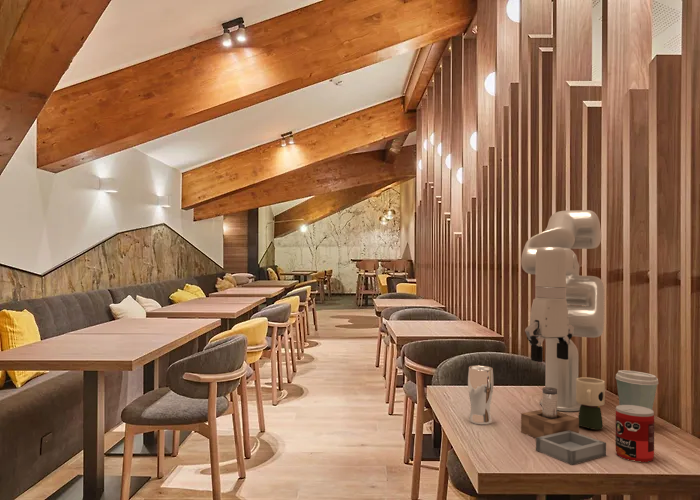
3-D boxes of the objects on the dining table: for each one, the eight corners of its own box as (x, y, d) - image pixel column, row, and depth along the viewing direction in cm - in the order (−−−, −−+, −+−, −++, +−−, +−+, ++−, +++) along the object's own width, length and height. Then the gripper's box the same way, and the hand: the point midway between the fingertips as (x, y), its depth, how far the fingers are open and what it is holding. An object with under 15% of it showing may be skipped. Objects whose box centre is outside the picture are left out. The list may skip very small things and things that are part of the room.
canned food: (608, 450, 125) (608, 404, 126) (640, 450, 126) (640, 404, 126) (628, 463, 118) (628, 414, 118) (661, 462, 118) (661, 413, 119)
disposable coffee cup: (622, 417, 152) (622, 366, 152) (664, 426, 144) (664, 372, 145) (609, 425, 145) (609, 371, 145) (652, 435, 137) (652, 377, 137)
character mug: (603, 436, 136) (603, 385, 136) (573, 431, 140) (573, 382, 140) (606, 424, 146) (606, 377, 146) (578, 420, 149) (578, 374, 149)
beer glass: (493, 426, 143) (494, 371, 143) (467, 424, 144) (468, 369, 144) (492, 418, 150) (492, 366, 150) (467, 416, 151) (467, 364, 151)
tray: (569, 442, 131) (569, 430, 131) (606, 455, 122) (606, 442, 122) (535, 450, 125) (536, 437, 125) (572, 464, 116) (572, 451, 116)
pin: (548, 432, 139) (548, 386, 139) (560, 436, 135) (560, 389, 136) (539, 434, 137) (539, 388, 137) (550, 438, 134) (550, 391, 134)
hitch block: (546, 426, 143) (547, 408, 143) (578, 438, 134) (579, 418, 134) (521, 432, 138) (521, 413, 138) (552, 444, 129) (552, 423, 129)
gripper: (560, 293, 144) (560, 355, 144) (515, 293, 136) (515, 359, 135) (584, 294, 138) (584, 360, 137) (539, 295, 129) (538, 364, 128)
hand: (549, 360), depth 136 cm, fingers open, 9 cm apart
